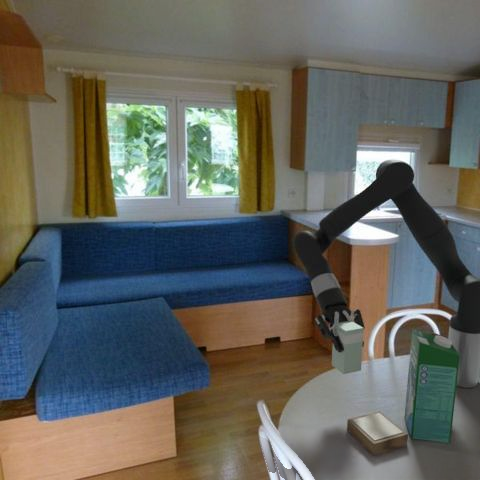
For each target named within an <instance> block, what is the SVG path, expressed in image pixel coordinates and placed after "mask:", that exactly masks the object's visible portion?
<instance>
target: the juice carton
mask: <svg viewBox="0 0 480 480" xmlns="http://www.w3.org/2000/svg"><path fill="white" fill-rule="evenodd" d="M336 329H337V332H338V336H339V338H340V340H341V342H342V345H343V347H344V351H342V352H340V353H339V352H338V351H336V349H335V347H334V344H333V343H332V347H331V348H332V350H331V351H332V352H331V366H332V367H334V368H335V369H337V370H338V372H340V373H341V374H343V375H346V374H351V373H352V374H353V373H357V372H360V371H362V361H363V360H362V358H363V347H362V346H363V341H364V330H365V329H364V328H363V327H361V326H359V325H358V324H356V323H354V322H348V321H346V322H340V323H339V324H337V325H336ZM363 329H364V330H363Z"/></svg>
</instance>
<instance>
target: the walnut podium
mask: <svg viewBox="0 0 480 480" xmlns="http://www.w3.org/2000/svg"><path fill="white" fill-rule="evenodd" d="M346 425H347V426H346V431H347V432H348V433H349V434H350V435H351V436H352V437H353V438H354V439H355V440H356V441H357V442H358V443H359V444H360V445H361V446H363V448H364V449H366V451H368V452H369V454H371V455H372V457H373V456H376V455H380V454H383V453H386V452H390V451H393V450H396V449H400V448H403V447H406V446H408V439H409V438H408V437H409V433H407V432H406V431H405V430H404V429H402V427H400V426H398V424H396V423H395V422H394V421H392V420H391V419H390V418H389V417H387V415H385V414H384V413H383V412H382V411H376V412H371V413H367V414H364V415H360V416H357V417H352V418H348V419H347V423H346Z"/></svg>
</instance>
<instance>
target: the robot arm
mask: <svg viewBox="0 0 480 480" xmlns="http://www.w3.org/2000/svg"><path fill="white" fill-rule="evenodd" d="M414 180H415V171H414V169H413V166H411V165H410V164H409V163H407V162H406V161H403V160H399V159H394V158H393V159H387V160H384V161H382V162H381V163H380V164H379V165H378V166H377V169H376V171H375V179H374V180H373V181H372V182H371V184H369V185H368V186H367V187H366V188H365V189H364V190H362V191H360V192H359V193H357V194H355V196H353V197H351V198H349V199H348V200H346V201H344V202H343V203H341V204H339V205H338V206H337V207H335V208H334V209H333V210H332V211H330V212H329V213H328V214H327V215H325V216H324V217H323V218H322V219H321V220H320V221H319V222H318V226H319V229H318V230H317V231H316V232H315V233H312V232H311V231H309V230H301V231H299V232H297V233H296V234H295V236H294V238H293V247H294V251H295V253H296V255H297V257H298V259H299V261H300V262H301V264H302V265H303V267H304V268H305V272H306V275H307V277H308V279H309V282H310V284H311V288H312V292H313V294H314V297H315V300H316V302H317V305H318V307H319V310H320V312H321V313H322V315H321V314H318V315H317V316H316V317H315V318H314V321H313V322H314V323H315V324H316V327H317V328H318V330H319V331H320V333H321V335H322V336H323V338H324V339H326V340H327V339H329V340H331V341H332V342H331V343H332V345H333V344H334V347H335V349H336V351H338V352H339V353H340V352H342V351H344V347H343V345H342V342H341V340H340V338H339V336H338V332H337V329H336V325H337V324H339V323H340V322H346V321H348V322H354V323H356V324H358V325H359V326H361V327H363V328H364V329H363V331H364V330H365V323H364V319H363V317H362V313H361V310H360V309H359V308H358V309H356V310H351V309H350V308H349V307H348V302H347V300H346V297H345V294H344V293H343V290H342V288H341V285H340V284H339V281H338V279H337V277H336V276H335V274H334V272H333V270H332V269H333V268H332V267H331V264H330V263H329V261H328V260H327V259H326V257H325V256H324V255H323V254H324V253H325V252H326V251H327V250H329V248H330V247H331V245H332V244H333V243H334V241H335V240H336V239H337V238H338V237H339V236H341V235H342V234H344V233H346V231H347V230H349V229H350V228H351V227H352V226H353V225H355V224H356V223H357V222H359V220H361V219H362V218H364V217H365V216H366V215H367V214H369V213H371V212H372V211H374V210H375V209H376V208H378V207H379V206H381V205H382V204H384V203H386V202H388V201H390V200H391V201H392V203H393V204H394V206H395V207H396V208H397V209H398V211H399V213H400V215H401V217H402V219H403V221H404V223H405V225H406V226H407V228H408V230H409V232H410V233H411V235H412V237H413V238H414V240H415V241H416V242H417V244H418V246H419V247H420V249H421V250H422V251H423V253H424V254H425V256H426V257H427V259H428V260H429V261H430V262H431V263H432V266H434V268H436V270H437V272H438V273H439V275H440V277H441V278H442V281H443V283H444V284H445V287H446V289H447V290H448V293H449V295H450V296H451V297H452V299H453V300H454V301H456V303H457V304H458V307H457V312H456V314H454V315H451V316H450V319H449V329H448V337H447V338H448V339H449V340H451V341H452V345H453V346H454V348H455V349H456V351H457V352H458V354H459V355H460V360H459V369H458V378H457V387H460V388H467V389H470V388H475V387H477V386H478V383H480V278H479V277H477V276H475V275H473V274H472V272H471V271H470V270H469V269H468V268H467V266H466V265H465V264H464V263H463V261H462V260H461V258H460V256H459V253H458V250H457V245H456V241H455V239H454V236H453V234H452V233H451V231H450V229H449V228H448V226H447V224H446V223H445V221H444V220H443V218H442V217H441V216H440V215H439V214H438V212H437V211H436V210H435V209H434V208H433V207H432V206H431V205H430V204H429V203H428V201H427V200H426V199H425V198H424V197H423V196H422V195H421V194H420V192H419V190H418V189H417V187H416V186H415V184H414ZM327 324H328V325H327ZM364 345H365V341H364V340H363V346H362V348H364Z"/></svg>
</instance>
